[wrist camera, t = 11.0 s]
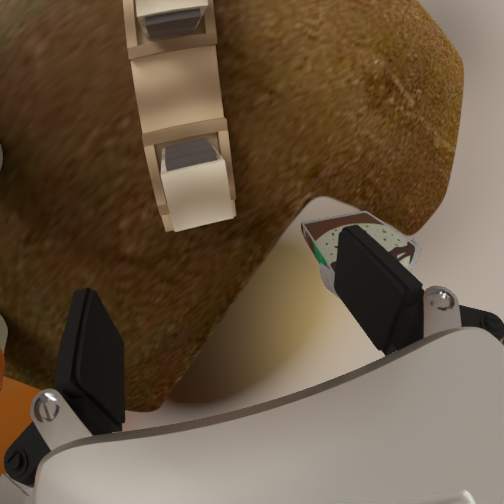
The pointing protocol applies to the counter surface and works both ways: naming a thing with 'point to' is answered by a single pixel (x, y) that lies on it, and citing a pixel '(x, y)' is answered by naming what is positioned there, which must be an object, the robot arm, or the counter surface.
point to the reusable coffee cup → (2, 346)
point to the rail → (176, 82)
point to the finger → (195, 184)
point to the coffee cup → (1, 157)
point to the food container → (327, 229)
